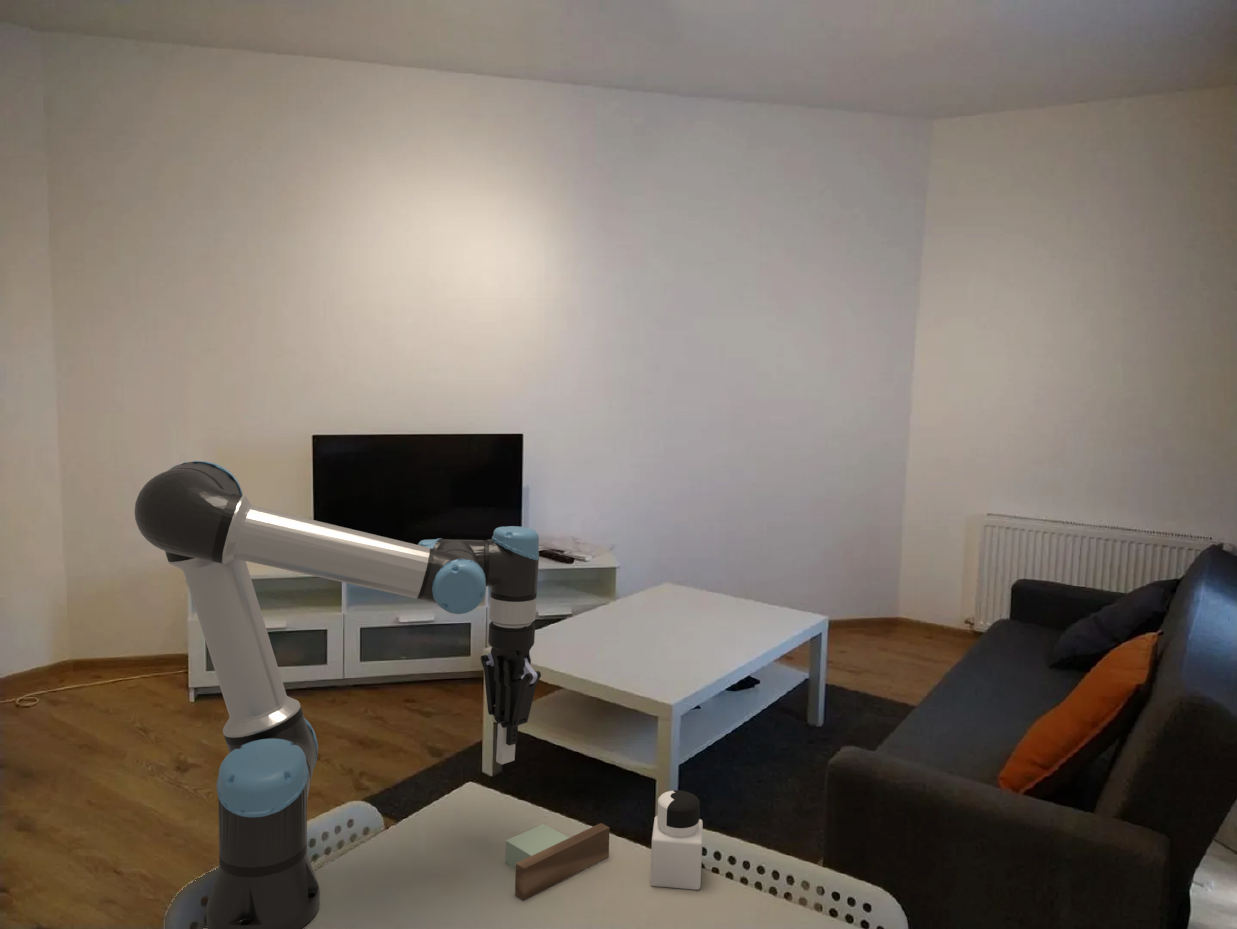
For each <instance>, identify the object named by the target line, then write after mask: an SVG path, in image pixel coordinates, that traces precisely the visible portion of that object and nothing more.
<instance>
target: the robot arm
mask: <svg viewBox="0 0 1237 929" xmlns="http://www.w3.org/2000/svg"><path fill="white" fill-rule="evenodd" d="M134 519H135V520H134V521H135V522H136V525H137V528H138V531H139V532H140V533H141V535H142V536H143V537H144V538H145V540H146V541H148V542H149V543H150V544H151V545H153V547H156V548H157V549H160V550H161V551H164V553H165V555H166V559H167V562H168V564H169V565H171V566H174V567H176V568H179V569H180V570H181V571H183V574H184V577H185V580H186V584H187V587H188V589H189V593H190V596H191V600H192V602H193V605H194V609H195V612H196V615H197V619H198V621H199V625H200V627H201V628H200V629H201V631H202V634H203V638H204V640H205V643H206V647H207V649H208V653H209V656H210V659H211V663H212V666H213V668H214V671H215V675H216V678H217V681H218V684H219V688H220V691H221V694H222V697H223V700H224V703H225V707H226V709H227V713H228V716H229V718H227V719H228V720H227V721H226V722H225V724H224V727H223V728H222V734H223V737H224V740H225V743H226V746H227V749H228V752H229V753H228V754H227V755H226V756H225V757H224V759H223V760H222V761H221V764H220V766H219V770H218V777H217V781H216V791H217V797H218V800H217V801H218V848H219V849H218V850H219V852H218V855H219V857H218V858H219V859H218V860H219V861H218V862H219V866H218V871H217V873H216V877H215V879H214V883H213V885H212V888H211V891H210V895H209V898H208V901H207V904H206V910H205V912H206V915H205V918H206V920H205V922H206V924H205V925H206V929H302V928H304V927H305V926H306V925H307V924H308V923H310V922H311V921H312V920H313V919H314V918H315V916H316V915H317V913H318V912H319V909H320V904H321V902H320V899H321V898H320V896H321V894H320V893H321V890H320V885H319V882H318V879H317V877H316V874H315V871H314V869H313V866H312V864H311V861H310V858H309V855H308V851H307V850H308V842H307V841H308V832H307V831H308V827H307V826H308V799H309V798H308V797H309V792H310V788H311V782H312V780H313V779H312V778H313V773H314V769H315V766H316V764H317V760H318V754H319V753H318V752H319V747H318V746H319V744H318V739H317V736H316V732H315V730H314V728H313V726H312V725H311V723H310V722H309V720H307V719H306V718H305V716H304V712H303V708H302V706H301V703H300V702H299V700H298V699H295V698H293V697H290V696H288V695H287V691H286V688H285V685H284V682H283V679H282V676H281V673H280V669H279V666H278V662H277V659H276V656H275V653H274V650H273V646H272V644H271V643H272V642H271V639H270V636H269V633H268V630H267V627H266V623H265V620H264V616H263V614H262V613H263V612H262V610H261V607H260V604H259V601H258V600H259V599H258V597H257V594H256V590H255V587H254V584H253V580H252V577H251V574H250V571H249V568H248V565H247V562H248V563H254V564H257V565H263V566H267V567H273V568H276V569H281V570H286V571H291V572H294V573H299V574H304V575H309V576H313V577H317V578H321V579H326V580H331V581H335V582H341V583H344V584H345V583H346V584H348V585H354V586H357V587H362V588H367V589H372V590H377V591H381V592H385V593H390V594H393V595H394V594H395V595H399V596H402V597H408V598H412V599H417V600H422V601H425V602H429V603H433V604H436V605H437V606H438V607H439V608H441V609H442V610H444V611H446V612H448V613H449V614H453V615H463V614H467V613H469V612H472V611H474V610H475V609H477V607H478V606H479V605H480V604H481V603H482V602H483V599H484V598H485V595H486V593H487V592H486V590H487V587H490V597H489V610H488V611H489V612H488V613H489V614H488V619H489V620H490V623H489V624H488V639H487V640H488V641H487V642H488V644H489V645H488V646H490V647H491V649H490V653H488V654H483V655H481V656H480V662H481V665H482V668H483V675H484V684H485V694H486V703H487V704H486V705H487V713H488V715H490V716H493V717H494V721H495V722H496V725H495V727H496V728H495V737H496V754H495V755H496V756H495V760H496V761H495V762H496V763H498V764H499V765H504V764H508V763H511V762H514V761H516V760H515V756H516V744H517V743H518V735H519V734H518V732H519V726H521V725H524V724H527V723H528V722H529V721H528V720H529V717H530V713H531V709H532V704H533V700H534V696H535V690H536V686H537V684H538V682H539V680H540V679H541V676H542V674H541V671H539V670H536V671H535V669H534V668H533V667H532V666H531V664H532V659H531V655H530V651H531V649H532V647H533V646H534V645H535V637H536V625H535V623H534V621H536V612H537V596H538V594H537V593H538V576H539V565H540V564H539V562H540V548H539V547H540V546H539V544H540V543H539V541H540V539H539V538H540V536H539V534H538V532H537V531H536V530H535V529H533V528H529V527H526V526H517V525H516V526H514V525H510V526H509V525H508V526H499V527H496V528H495V529H494V530H493V532H492V536H491V539H486V540H485V539H483V540H482V539H449V538H447V539H446V538H445V539H444V538H442V537H440V538H436V539H435V538H434V539H422V540H420V541H419V542H418V543H417V544H415V543H412V542H406V541H403V540H399V539H394V538H390V537H387V536H381V535H377V534H373V533H369V532H366V531H361V530H356V529H352V528H348V527H344V526H339V525H336V524H332V523H328V522H323V521H318V520H314V519H310V518H308V517H307V518H306V517H302V516H297V515H294V514H289V513H285V512H282V511H277V510H273V509H268V508H265V507H260V506H256V505H252V503H251V501H250V500H249V499H248V497H247V496H246V495H244V493H243V491H242V487H241V485H240V483H239V481H238V480H237V478H236V477H235V475H234V474H233V473H232V472H230V471H229V469H227V468H225V467H223V466H222V465H219V464H217V463H214V462H210V461H205V460H204V461H203V460H194V461H187V462H185V461H184V462H183V463H181V464H175V465H174V466H173V467H171V468H169V469H168V470H166V471H164V472H161V473H159V474H157V475H155V476H154V477H152V478H151V479H149V480H148V481H147V482H146V483H145V484H144V486H142V489H140V491H139V493H138V495H137V498H136V500H135V504H134Z"/></svg>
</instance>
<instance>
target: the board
mask: <svg viewBox="0 0 1237 929" xmlns="http://www.w3.org/2000/svg"><path fill="white" fill-rule="evenodd" d="M610 831H611V830H610V827H609V826H608V825H606V824H604V823H602V822H600V823H597V824H596V825H594V826H592V827H590V828H588V829H585V830H583V831H581V832H578V833H577V834H574V835H572V836H571V837H569V838H568V839H566V840H564V841H562V842H560V843H558V844H555V845H553V846H551V847H549V848H547V849H545V850H543V851H541V852H539V853H536V854H534V855H532V856H530V857H528V858H526V859H524V860H522V861H520V862H517V863H516V869H515V878H514V879H515V882H514V884H515V885H514V886H515V887H514V895H515V896H516V897H517V898H518V899H521V901H525V900H528V899H529V898H532V897H533V896H535V895H538V894H539V893H541V892H543V891H545V890H547V889H549V888H551V887H553V886H554V885H557V884H559V883H561V882H562V881H565V880H566V879H568V878H570V877H572V876H575V875H576V874H578V873H580V872H582V871H584V870H585V869H587V868H590V867H592V866H593V865H594V866H595V864H597V863H599V862H602V861H603V860H605V859H607V858H609V857H610V856H609V855H610Z"/></svg>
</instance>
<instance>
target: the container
mask: <svg viewBox="0 0 1237 929" xmlns="http://www.w3.org/2000/svg"><path fill="white" fill-rule="evenodd" d="M700 805H701V801H700V800H699V798H698V797H697V796H696V794H693V793H691V792H689V791H685V790H680V789H677V790H675V789H674V790H668V791H665V792H663V793H662V794H661V795H660V796H659V797H658V799H657V814H656V816H654V821H653V827H652V834H651V851H650V852H651V854H650V855H651V856H650V875H649V876H650V877H649V878H650V880H649V882H650V883H649V884H650V885H651V886H652V887H657V888H658V887H661V888H672V889H683V890H694V891H695V890H696V891H698V890H700V889H701V885H702V884H701V883H702V882H701V880H702V859H703V858H702V857H703V827H704V826H703V824H704V823H703V819H701V818H700V812H701V810H700Z"/></svg>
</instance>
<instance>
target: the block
mask: <svg viewBox="0 0 1237 929" xmlns="http://www.w3.org/2000/svg"><path fill="white" fill-rule="evenodd" d="M568 838H570V837H568V836H567V835H566V834H563V833H561V832H559V831H558V830H556V829H554V828H552V827H550V826H548V825H546V823H545V824H544V823H542V824H540V825H538V826H536V827H533V828H531V829H529V830H526V831H524V832H522V833H520V834H518V835H516V836H513V837H510V838H509V839H506V840H505V861H504V862H505V864H507V865H508V866H510V867H512V868H513V869H515V870H516V863H517V862H520V861H522V860H524V859H526V858H528V857H530V856H532V855H534V854H536V853H539V852H541V851H543V850H545V849H547V848H549V847H551V846H553V845H555V844H558V843H560V842H562V841H564V840H566V839H568Z"/></svg>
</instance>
